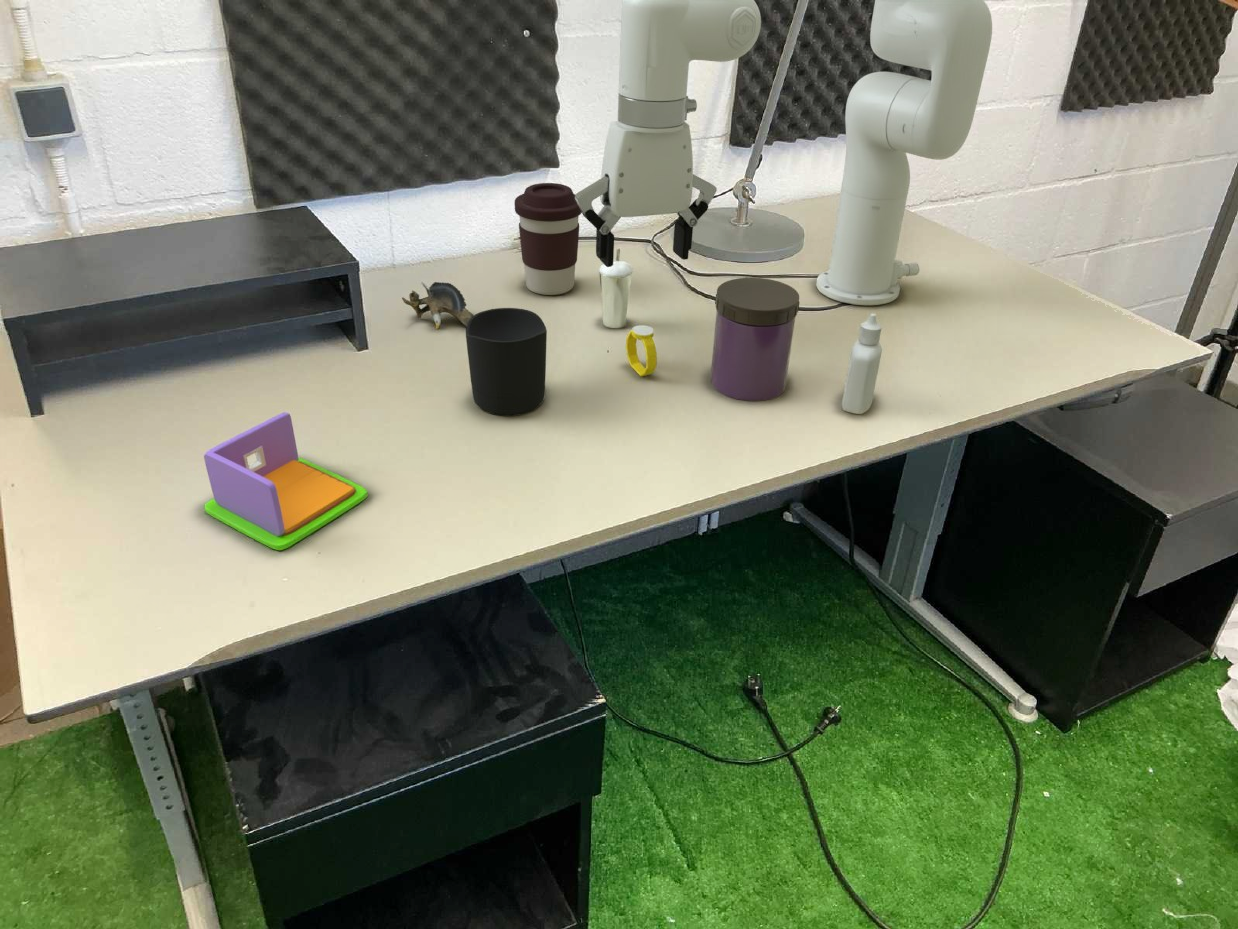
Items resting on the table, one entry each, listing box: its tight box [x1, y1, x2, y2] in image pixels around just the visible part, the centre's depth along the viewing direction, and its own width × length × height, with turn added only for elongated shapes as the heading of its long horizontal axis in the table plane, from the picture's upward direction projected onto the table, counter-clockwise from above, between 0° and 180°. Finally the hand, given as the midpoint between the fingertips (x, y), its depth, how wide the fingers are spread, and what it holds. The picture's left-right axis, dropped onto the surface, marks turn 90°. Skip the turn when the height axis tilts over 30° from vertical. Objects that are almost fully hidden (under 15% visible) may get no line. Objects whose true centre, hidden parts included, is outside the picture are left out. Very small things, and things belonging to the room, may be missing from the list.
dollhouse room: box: [203, 411, 368, 551], centre depth 96 cm, size 12×12×7 cm
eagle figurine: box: [401, 280, 475, 330], centre depth 134 cm, size 8×7×9 cm
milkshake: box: [598, 247, 633, 329], centre depth 134 cm, size 4×5×10 cm
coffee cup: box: [514, 182, 582, 296], centre depth 143 cm, size 10×10×15 cm
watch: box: [625, 324, 658, 377], centre depth 123 cm, size 6×3×6 cm, turn 27°
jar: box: [709, 310, 796, 402], centre depth 119 cm, size 10×10×12 cm
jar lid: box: [714, 277, 800, 326], centre depth 116 cm, size 10×10×2 cm
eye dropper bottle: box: [841, 313, 883, 415], centre depth 115 cm, size 4×6×12 cm
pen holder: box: [465, 307, 548, 417], centre depth 115 cm, size 9×9×10 cm
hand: (643, 259), depth 116 cm, fingers open, 9 cm apart
